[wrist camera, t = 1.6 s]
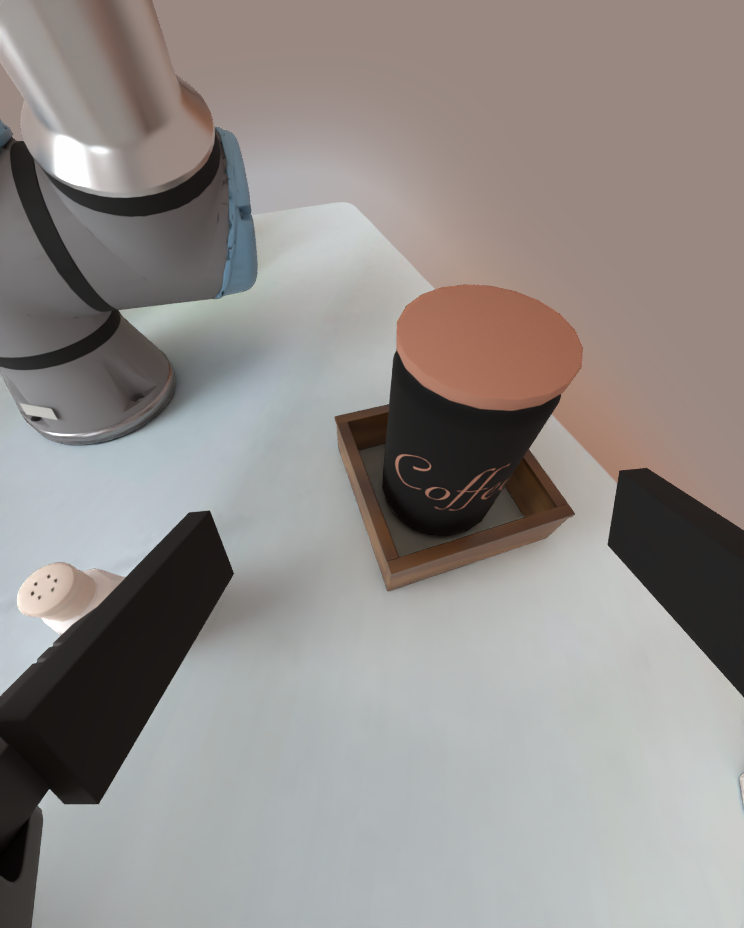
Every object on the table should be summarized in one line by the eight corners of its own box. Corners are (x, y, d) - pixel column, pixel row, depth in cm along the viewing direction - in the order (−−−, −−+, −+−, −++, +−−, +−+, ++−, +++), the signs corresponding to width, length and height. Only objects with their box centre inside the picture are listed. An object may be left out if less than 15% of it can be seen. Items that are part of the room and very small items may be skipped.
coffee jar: (371, 527, 33) (379, 380, 18) (391, 439, 39) (410, 273, 24) (487, 551, 32) (598, 416, 17) (490, 457, 38) (573, 295, 23)
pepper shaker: (170, 577, 30) (85, 520, 21) (196, 631, 27) (114, 595, 18) (101, 620, 28) (-25, 578, 19) (124, 683, 25) (-9, 670, 16)
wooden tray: (337, 448, 38) (334, 416, 34) (469, 416, 41) (481, 383, 37) (387, 593, 29) (391, 574, 25) (548, 538, 32) (575, 514, 28)
